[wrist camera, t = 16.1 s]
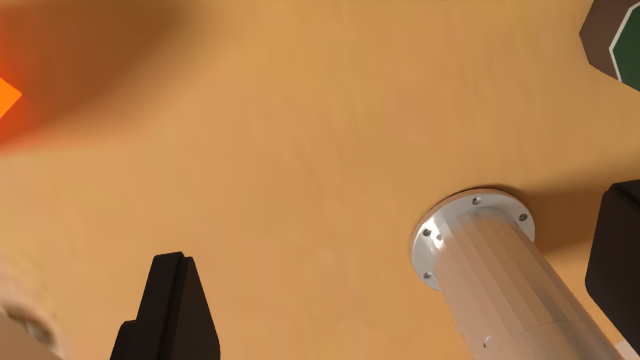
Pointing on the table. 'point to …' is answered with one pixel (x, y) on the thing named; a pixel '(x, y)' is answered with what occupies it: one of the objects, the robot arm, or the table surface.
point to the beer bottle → (614, 39)
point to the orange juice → (7, 96)
